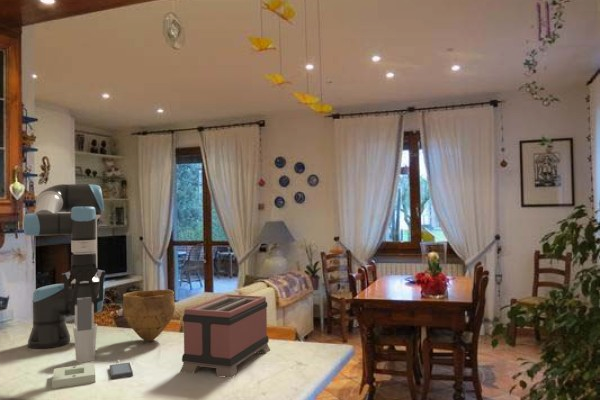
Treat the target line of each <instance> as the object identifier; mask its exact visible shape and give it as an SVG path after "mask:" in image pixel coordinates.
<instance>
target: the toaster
mask: <svg viewBox="0 0 600 400" xmlns="http://www.w3.org/2000/svg"><path fill="white" fill-rule="evenodd" d="M267 308H268V302H267V298H266V296H262V295H261V296H259V295H242V294H228V293H226V294H223V295H220V296H218V297H215V298H212V299H209V300H206V301H203V302H201V303H199V304H195V305H193V306H189V307H187V308H185V309H184V311H183V314H184V315H183V316H182V322H183V354H182V357H181V362H182V363H183V364H182V367H181V368H180V371H179V372H181V373H187V372H188V373H187V374H195V373H197V372H198V371H199V370H201V368H202V367H203V368H205V367H206V368H213V369H216V370H215V371H216V376H217V377H219V376H225V377H224V378H227V377H231V378H230V379H233V376H234V375H235V376H236V375H237V374H238V369H237V366H238V365H240V364H241V363H243V362H244V361H245V360H247V359H249V358H250V357H252V356H253V355H254V354H256V353H257V352H261V353H260V354H268V353H269V352H270V351H271V348H270V346H269V344H268V343H269V336H268V324H267V323H268V321H267V320H268V318H267V316H268V315H267V314H268V312H267ZM235 376H234V377H235Z"/></svg>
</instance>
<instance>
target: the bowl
mask: <svg viewBox="0 0 600 400" xmlns="http://www.w3.org/2000/svg"><path fill="white" fill-rule="evenodd" d="M122 298H123V300H122V313H123V314H122V315H123V316H124V318H125V320H126V322H127V324H128V325H129V326H130V328H131V329H132V330H133V331H134V332H135V333H136V335H138V337H139V338H140V339H142V340H144V341H146V342H152V341H154V340H156V338H157V337H159V336H160V335H161V333H163V331H164V329H165V328H166V327H167V326H168V325H169V324H170V322H171V321H172V319H173V316H174V314H175V309H176V302H175V292H174V291H173V289H172V290H171V289H155V290H136V291H130V292H125V293H123V295H122Z"/></svg>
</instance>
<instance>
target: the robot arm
mask: <svg viewBox="0 0 600 400" xmlns="http://www.w3.org/2000/svg"><path fill="white" fill-rule="evenodd" d="M35 205H36V208H35V210H34V212H32V213H26V214H25V215H24V216H23V233H24V234H25V236H32V237H33V236H34V237H37V236H38V237H39V236H62V235H64V236H65V235H66V236H68V235H71V238H70V239H71V240H70V242H71V243H70V246H71V247H70V248H71V250H70V251H71V253H72V254H71V257H70V258H71V261H70V263H71V264H70V266H71V267H70V269H69V271H68V272H65V273H64V272H63V273H62V274H61V278H62V280H63V283H55V284H50V285H45V286H44V285H43V286H41V287H39V288H36V289H35V290H34V291H33V293H32V300H31V301H32V328H31V330H30V333H29V336H28V340H27V347H28V348H30V349H35V350H36V349H37V350H38V349H42V350H43V349H51V348H56V347H60V346H64V345H66V344H69V343H70V342H71V334H70V332H69V328H68V326H67V323H66V317H69V316H71V317H72V316H74V326H77V298H85V297H91V305H92V324H95V314H99V313H100V312H101V311H102V310H103V307H104V298H105V293H106V292H105V291H106V285H105V283H104V280H105V279H104V278H105V277H106V274H107V273H106V271H105V270H101V269H98V219H100V218H101V214H102V213H103V212H105V204H104V198H103V191H102V188H101V186H100V185H99V184H98V185H97V184H90V183H88V184H86V183H85V184H83V183H82V184H78V183H77V184H68V183H67V184H65V183H64V184H63V183H62V184H56V185H53V186H52V185H51V186H49V187H47V188H46V189H44V190H42V191H41V192H40V193H39V194H38V195H37V198H36V200H35ZM70 276H72V278H74V279H72V281H71V282H70V286H69V279H70Z"/></svg>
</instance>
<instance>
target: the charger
mask: <svg viewBox="0 0 600 400" xmlns="http://www.w3.org/2000/svg"><path fill="white" fill-rule="evenodd" d="M77 330H78V331H83V330H92V305H91V297H85V298H77Z"/></svg>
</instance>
